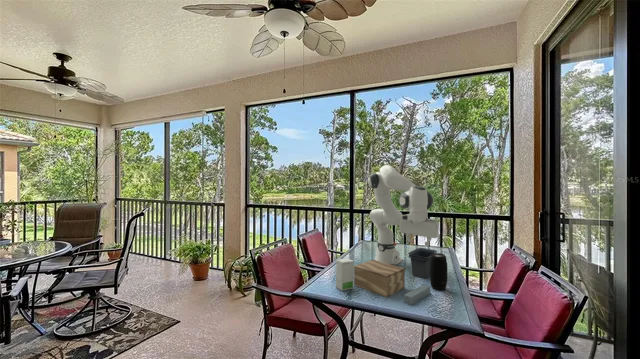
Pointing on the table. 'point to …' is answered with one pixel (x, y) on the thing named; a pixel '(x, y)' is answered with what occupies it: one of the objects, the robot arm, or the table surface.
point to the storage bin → (421, 261)
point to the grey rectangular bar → (416, 294)
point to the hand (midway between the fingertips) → (418, 243)
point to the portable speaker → (438, 271)
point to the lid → (379, 268)
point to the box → (379, 282)
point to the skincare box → (344, 274)
